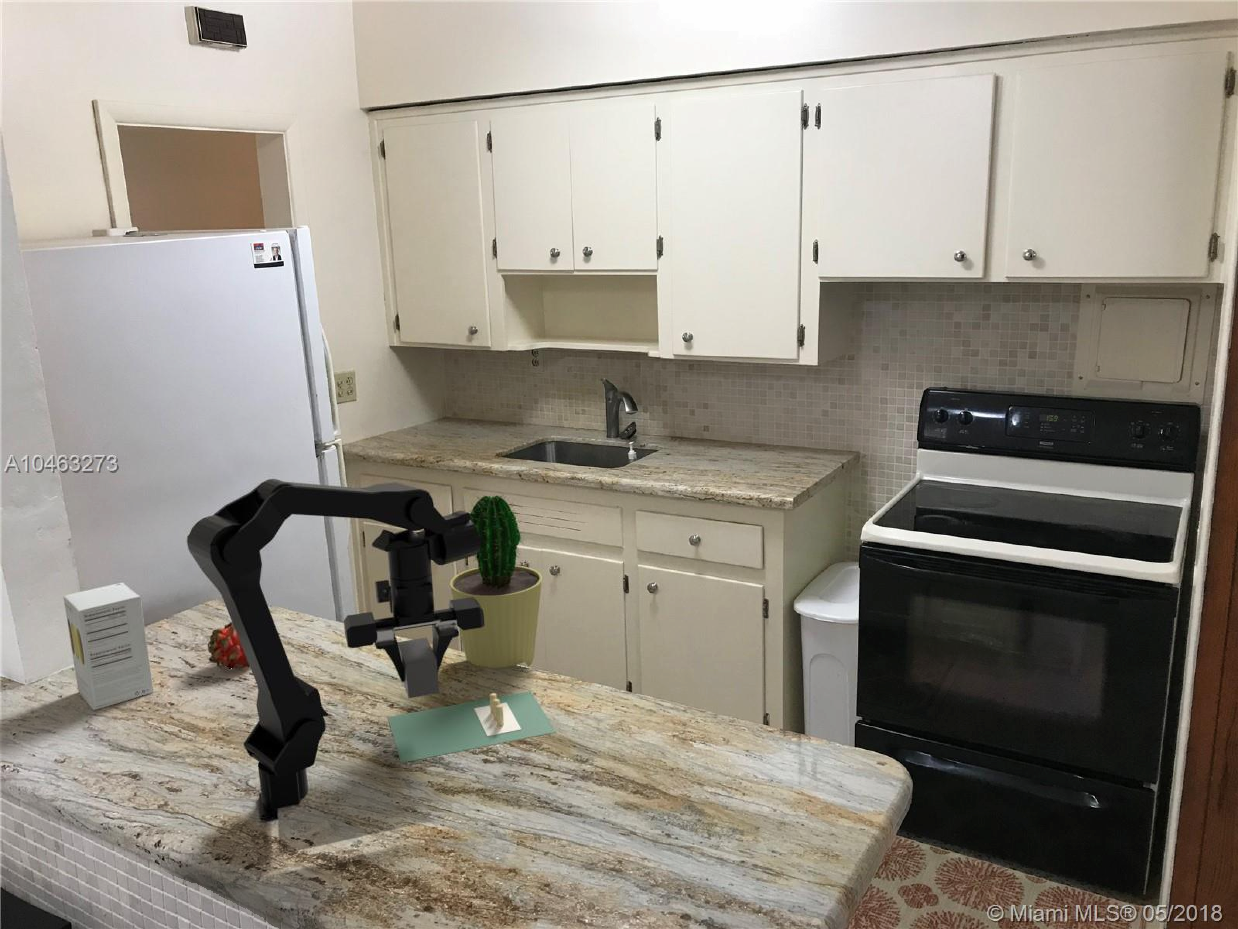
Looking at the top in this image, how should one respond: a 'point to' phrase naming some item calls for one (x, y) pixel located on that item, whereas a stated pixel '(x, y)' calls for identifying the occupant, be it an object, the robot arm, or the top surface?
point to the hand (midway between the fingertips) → (418, 678)
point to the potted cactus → (499, 591)
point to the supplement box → (108, 645)
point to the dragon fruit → (226, 648)
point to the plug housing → (419, 667)
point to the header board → (468, 726)
